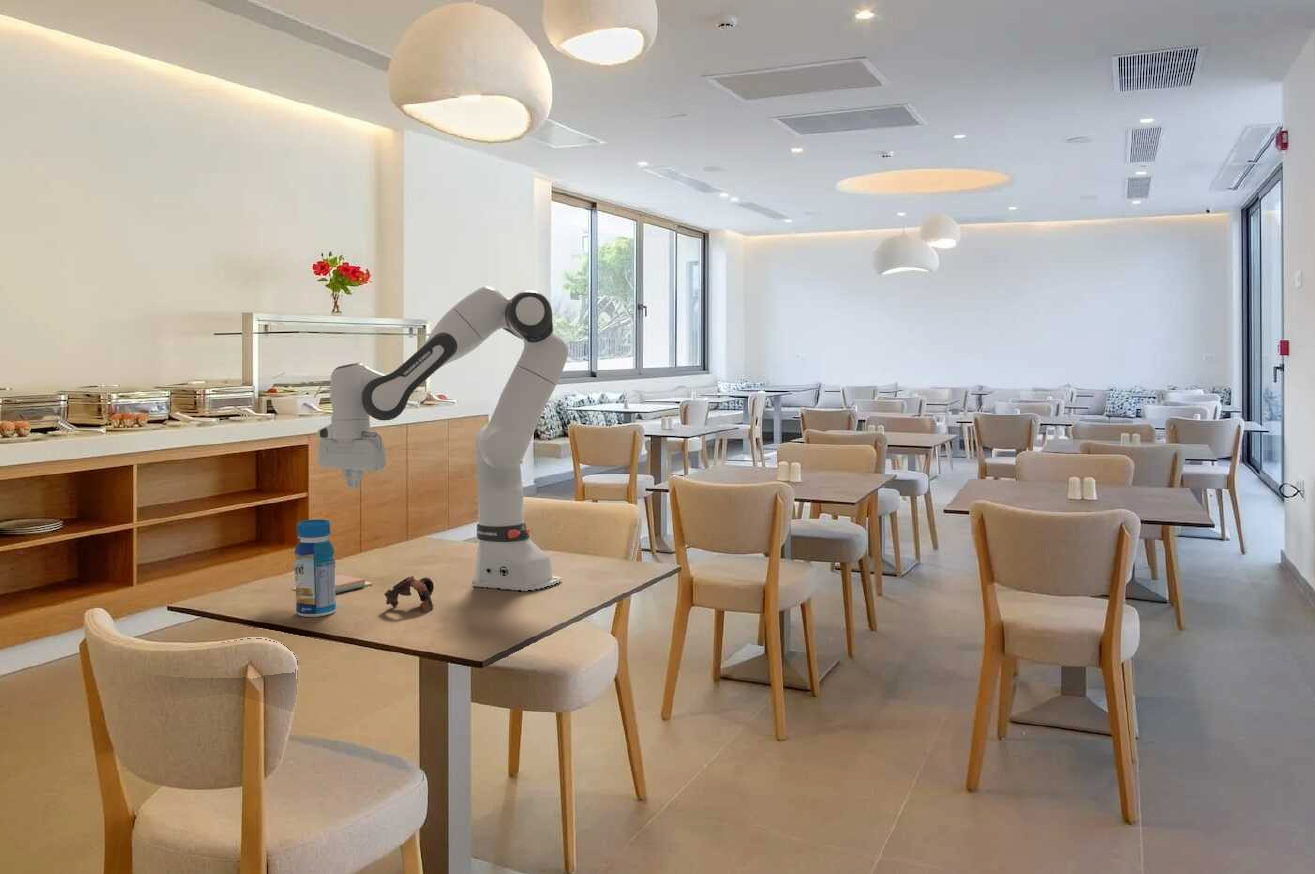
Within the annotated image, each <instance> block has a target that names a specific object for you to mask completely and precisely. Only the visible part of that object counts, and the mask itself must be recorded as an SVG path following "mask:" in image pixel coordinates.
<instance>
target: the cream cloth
mask: <svg viewBox="0 0 1315 874" xmlns="http://www.w3.org/2000/svg"><path fill="white" fill-rule="evenodd" d="M373 584H374V582H369V581H365V586H362V587H358V588H353V589H349V590H345V591H341V592H335V595H336V594H338V593H344V592H349V591H352V590H356V589H360V588H364V587H365V588H366V587H368V586H373ZM293 590H294V591H296V586H295V587H292V591H293Z"/></svg>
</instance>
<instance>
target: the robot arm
mask: <svg viewBox="0 0 1315 874" xmlns="http://www.w3.org/2000/svg"><path fill="white" fill-rule="evenodd" d="M553 324H554V323H553V309H552V305H551V302H549V299H548V298H547V297H546V296H545V295H544V294H542V293H540V292H537V291H536V290H523V291H520V292H518V293H517V294H515V295H514V296H513V297H512V298H508V297H505V296H504V295H503V294H502V293H501V292H500V290H497V289H496V288H494V287H492V286H488V285H487V286H481V287H479V288H478V289H476V290H475V291H474V290H473V292H471V293H470V294H468V295H466V296H465V297H464V298H462V299H461V300H459V301H458V302H457V303H456V304H455V305H454V306H452V307H451V308H450V309H449V310H448V311H447V312H446V313H445V314H444V315H443V317H442V318H440V320H439V321H438V322H437V323H436V324H435V326H434V328H433V329H432V331H431V332H430V333H429V336H427V337H428V338H426V340H425V342H424V343H423V344H422V346H421V347H420V348H418V350H417V351H416V352H415V353H413V354H412V355H411V356H410V357H409V358H408V359H407V360H406V361H405V362H404V363H402V364H401V365H400V366H399V367H398V368H396V369H395V370H393V372H390V373H388V374H383V373H381V372H378V371H376V370H374V369H372V368H370V367H368V366H367V365H365V363H361V362H355V363H350V364H344V365H341V366H338V367H336V368H334V369H333V371H332V372H331V375H330V385H329V395H330V396H329V399H330V404H331V409H332V414H331V417H330V420H331V424H328V425H326V426H324V427H322V428H319V429H318V430H317V437H318V439H320V440H319V442H318V462H319V464H320V467H321V468H323V469H335V470H341V471H342V472H341V473H342V476H343V478H344V480H345V482H346V483H345V484H346V488H347V489H355V490H357V489H360V488H361V480H362V478H363V476H364V472H366V471H367V472H381V471H385V469H386V466H387V458H386V452H385V446H384V443H383V438H382V437H381V435H380V434H379V433H378V432H376V431H371V421H370V418H374V419H375V420H378V421H391V420H394V419H396V418H398V417H399V416H400V415H401V414H402V413H404V410H405V408H406V406H407V404H408V401H409V399H410V397H411V395H412V394H413V393H414V391H416V389H418V387H420V386H421V385H422V384H423V383H424V382H425V381H426V380H428V379H429V378H430V377H431V376H432V375H433V374H434V373H435V372H437V371H438V370H439V369H440V368H442V367H443V366H445V365H448V364H450V363H452V362H454V361H456V360H459V359H461V358H463V357H464V356H466V355H468V354H469V353H471V352H472V351H474V350H475V349H477V347H479V346H481V344H483V343H484V341H486V340H487V339H489V337H490V336H491V335H493V334H494V333H495V332H497V331H498V330H500V329H503V330H505V331H506V332H508V333H510V334H512V336H515V337H517V338H518V339H521V340H522V341H523V345H524V346H523V350H522V352H521V354H520V357H519V359H518V361H517V362H516V364H515V366H514V368H513V370H512V372H511V373H510V376H509V378H508V380H507V382H506V384H505V386H504V387H503V389H502V392H501V393H500V396H499V398H498V400H497V401H498V402H497V404H496V407H495V408H494V410H493V412H492V413H493V414H492V416H490V417H491V418H490V420H489V422H488V423H486V424H484V425H483V426H481V428H480V429H479V430H478V432H477V433H476V435H475V440H474V450H475V470H476V483H477V485H476V486H477V503H478V505H477V506H478V509H477V510H478V511H477V512H478V513H477V514H478V515H477V516H478V523H477V524H476V538H477V540H478V545H477V554H476V564H475V570H474V574H473V578H472V581H473V585H474V586H473V587H477V588H487V587H488V589H497V588H500V589H499V590H507V589H508V590H509V589H510V590H509V591H518V590H521V592H529V591H528V590H532V591H536V590H535V589H538V590H540V589H539V588H543V589H545V588H544V587H547V586H550V585H552V584H555V583H558V584H560V583H561V582H562V581H561V580H562V577H561V576H558V575H555V574H553V570H552V563H551V560H550V556H548V555H547V554H546V553H545V552H544V551H543V550H542V549H541V548H540V547H539V546H538V545H537V544H535V543H534V541H532V539H531V538H530V537H531V536H530V533H532V532H533V530H531V529H533V526H532V527H531V526H530V527H527V524H526V522H525V521H524V519H525V518H524V487H523V481H522V470H521V469H522V468H521V462H522V461H523V459H524V457H525V455H526V452H527V450H528V448H529V446H530V445H531V444H530V443H531V441H532V440H533V436H534V434H535V431H536V429H537V426H538V424H539V421H540V419H541V416H542V415H543V412H544V410H545V408H546V406H547V404H548V402H549V400H550V398H551V396H552V394H553V392H554V390H555V388H556V386H557V384H558V382H559V380H560V378H561V376H562V374H563V371H564V368H565V365H566V362H567V359H568V355H569V348H568V345H567V344H566V342H565V341H564V340H563V339H562V338H561V337H560V336H558V335H556V334H555V333H554V332H553V331H554V326H553ZM559 582H560V583H559ZM550 587H551V586H550ZM547 588H548V587H547Z"/></svg>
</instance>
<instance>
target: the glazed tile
mask: <svg viewBox="0 0 1315 874" xmlns="http://www.w3.org/2000/svg"><path fill="white" fill-rule="evenodd" d="M365 582H366V579H365V578H360V577H355V576H349V575H345V574H338V575H335V592H340V593H342V592H341V591H344V592H346V591H345V590H348V591H350V590H349V589H352V590H354V589H353V588H357V589H359V588H358V587H361V588H363V587H362V586H365ZM365 587H366V586H365Z"/></svg>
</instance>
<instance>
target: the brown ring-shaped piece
mask: <svg viewBox="0 0 1315 874" xmlns="http://www.w3.org/2000/svg"><path fill="white" fill-rule="evenodd" d="M411 587H412V588H413V589H414V590H415V591H416V592H417V594H418V596H419V599H420V602H421V603H420V607H421V609H422V610H423V611H422V612H423V613H424V614H425V613H427V612H428V611H430V610H431V609H432V608H434V604H433V601H432V597H431V596H432V594H433V593H434V589H435V586H434V582H433V580H432V579H431V578H429V577H426V576H425V577H422V578H421V579H419V580H416V579H415V577H414V576H413V575H411V576H408V577H406V578H404V579H403V580H401V581H400V582H398V583H396V584H394V585H393V587H392V589H388V590H386V592H384V593H383V595H384V596H385V598H386V601H385V603H386V605H390V606H392V607H393V608H396V607H397V606H398V604H399V601H398V598H399V595H401V596H406V597H410V596H412V593H411Z"/></svg>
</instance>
